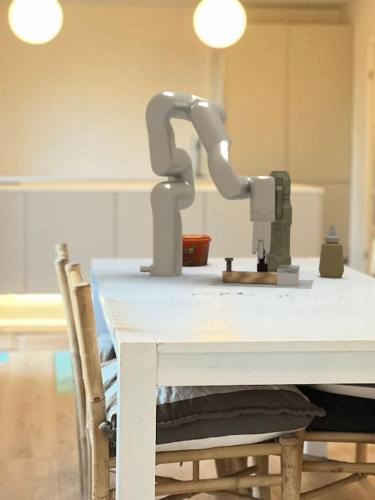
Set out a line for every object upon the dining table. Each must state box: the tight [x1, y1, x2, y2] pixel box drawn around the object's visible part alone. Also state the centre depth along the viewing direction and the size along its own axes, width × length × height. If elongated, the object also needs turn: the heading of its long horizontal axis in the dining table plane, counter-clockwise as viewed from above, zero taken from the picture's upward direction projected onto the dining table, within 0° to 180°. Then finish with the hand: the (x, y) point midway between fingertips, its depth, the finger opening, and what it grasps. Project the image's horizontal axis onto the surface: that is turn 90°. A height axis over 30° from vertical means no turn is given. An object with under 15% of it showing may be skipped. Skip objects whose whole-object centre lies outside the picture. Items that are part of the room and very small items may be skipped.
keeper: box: [277, 264, 300, 286], centre depth 262 cm, size 6×8×5 cm
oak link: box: [221, 257, 300, 284], centre depth 263 cm, size 23×4×7 cm, turn 77°
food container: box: [182, 234, 212, 267], centre depth 323 cm, size 16×16×11 cm
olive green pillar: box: [267, 170, 293, 272], centre depth 291 cm, size 9×12×35 cm
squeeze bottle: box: [318, 224, 345, 279], centre depth 280 cm, size 8×8×18 cm
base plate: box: [208, 276, 314, 290], centre depth 265 cm, size 30×19×2 cm, turn 79°
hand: (262, 276), depth 266 cm, fingers closed
